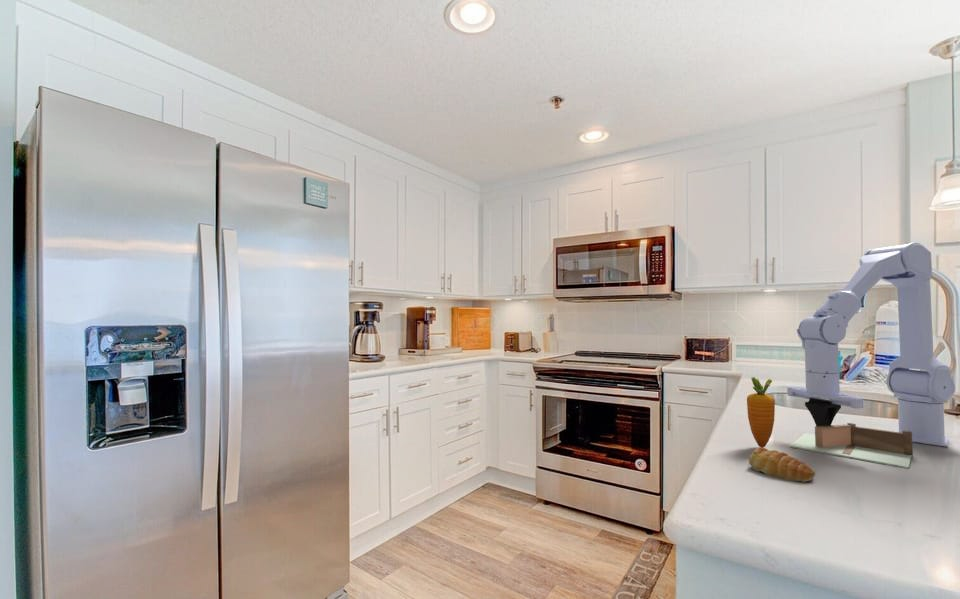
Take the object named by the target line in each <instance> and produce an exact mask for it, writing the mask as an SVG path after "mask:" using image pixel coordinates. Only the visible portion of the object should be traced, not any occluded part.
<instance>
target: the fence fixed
mask: <svg viewBox="0 0 960 599" xmlns="http://www.w3.org/2000/svg"><path fill="white" fill-rule="evenodd" d="M846 425H850V426H851V445H852V446H860V447H866V448H872V449H879V450H885V451H891V452H897V453H903V454H905V455H912V456H913V455H914V453H913V452H914V451H913V450H914V449H913V442H912V432H911V431H902V433H900V432H898V431H894V430H893V431H892V430H884V429H878V428H872V427H871V428H870V427H862V426H856V425H857V424H856V423H854V422H853V423H852V422H847V423H846Z"/></svg>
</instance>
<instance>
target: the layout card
mask: <svg viewBox="0 0 960 599" xmlns="http://www.w3.org/2000/svg"><path fill="white" fill-rule="evenodd" d="M789 447H790V448H792V449H793V448H794V449H799V450H805V451H810V452H813V453H814V452H815V453H819V454H820V453H821V454H826V455H830V456H831V455H832V456H838V457H842V458H849V459H854V460H860V461H864V462H869V463H876V464H880V465H887V466H890V467H891V466H892V467H895V468H903V469H908V470H909V469H910V465H911V461H912V456H913V455H905V454H903V453H897V452H891V451H885V450H879V449H872V448H866V447H860V446H852V445H840V446H828V447H817V446H815V434H811V433H806V432H805V433H803V434H802V435H801V436H799V438H797V439H796V440H795V441H794V442H793V443H791V445H790V446H789Z"/></svg>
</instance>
